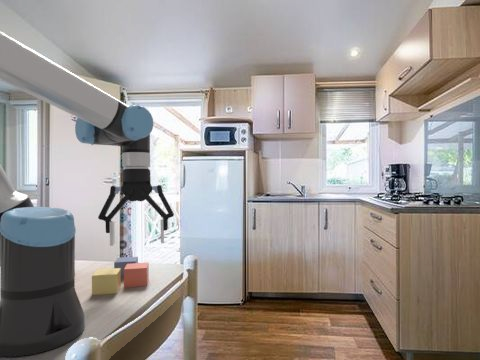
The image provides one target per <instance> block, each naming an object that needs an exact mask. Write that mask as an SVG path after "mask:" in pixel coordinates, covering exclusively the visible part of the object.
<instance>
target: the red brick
mask: <svg viewBox="0 0 480 360" xmlns="http://www.w3.org/2000/svg"><path fill="white" fill-rule="evenodd" d="M149 270H150V269H149V262H138V263H132V264H127V265H126V267H125V268H124V278H123V288H131V287H132V288H134V287H146V286H148V283H149V277H150V276H149V275H150V274H149Z"/></svg>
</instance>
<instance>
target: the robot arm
mask: <svg viewBox="0 0 480 360" xmlns="http://www.w3.org/2000/svg"><path fill="white" fill-rule="evenodd" d="M0 81H1V82H4V83H6V84H8V85H10V86H12V87H14V88H16V89H18V90H20V91H22V92H24V93H26V94H29V95H30V96H33V97H35V98H37V99H39V100H41V101H43V102H45V103H47V104H49V105H50V106H53V107H55V108H57V109H59V110H62V111H64V112H65V113H68V114H69V115H72V116H74V117H76V121H75V126H74V132H75V136H76V138H77V140H78V141H79V142H80V143H81V144H86V145H87V144H88V145H91V146H94V145H97V146H116V147H121V150H122V151H121V157H122V159H121V162H122V163H121V164H122V165H121V166H122V168H124V169H123V170H122V185H121V186H116V185H111V186H110V189H109V195H108V197H107V198H106V201H105V203H104V205H103V206H102V208H101V211H100V213H99V215H98V217H97V218H98V219H99V220H101V221H104V223H105V233H106V234H109V246H114V245H115V244H116V243H115V237H116V235H115V220H112V219H113V218H114V217H115V216H116V215H117V214H118V213H119V211H120V210H121V209H122V208H123V207H124V205H125V204H126V203H127V202H128V201H130V202H131V203H133V202H143V201H146V202H147V203H148V204H149V205H151V207H152V208H153V209H154V210H155V211H156V212H157V213H158V215H160V217H162V218H160V243H161V244H164V243H165V231H168V228H169V227H168V226H169V224H168V222H169V221H168V220H169V219H171V218H172V217H174V215H175V213H174V210H173V209H172V207H171V205H170V204H169V202H168V200H167V198H166V196H165V194H164V193H163V192H164V191H163V186H162V185H161V184H158V185H153V186H152V183H151V181H152V180H151V170H150V167H151V133H152V131H153V128H154V118H153V116H152V114H151V112H150V110H148V108H146V107H144V106H142V105H138V104H137V105H134V104H131V105H127V104H125V102H122V101H120V100H119V99H117V98H116V97H114V96H112V95H110V94H108V93H107V92H105V91H103V90H102V89H100V88H98V87H96V86H94V85H93V84H92V83H90V82H88V81H86V80H85V79H83V78H81V77H80V76H78V75H76V74H74V73H72V72H71V71H69V70H67V69H66V68H64V67H62V66H61V65H59V64H57V63H56V62H53V61H52V60H50V59H49V58H47V57H45V56H43V54H41V53H39V52H37V51H35V50H34V49H32V48H30V47H28V46H26V45H25V44H24V43H21V42H20V41H18V40H16V39H15V38H13V37H11V36H9V35H8V34H6V33H5V32H3V31H1V30H0ZM2 166H3V165H2V164H1V163H0V357H4V358H7V357H9V358H12V357H23V356H22V355H25V356H29V355H30V354H31V355H35V354H39V353H44V352H47V351H50V350H53V349H56V348H58V347H61V346H63V345H65V344H68V343H70V342H71V341H73V340H75V339H76V338H78V337H79V336H80V335H81V334H82V333H83V331H84V330H85V326H86V325H85V323H86V322H85V319H86V316H85V313H84V310H83V307H82V303H81V301H80V299H79V296H78V293H77V291H76V289H75V287H76V286H75V280H76V279H75V277H76V268H75V267H76V265H75V264H76V263H75V259H76V257H75V256H76V254H75V253H76V251H75V250H76V244H75V243H76V225H75V217H74V215H73V214H72V213H71V212H70V211H69V210H67V209H64V208H60V207H50V206H49V207H48V206H34V204H33V202H32V200H31V198H30V197H29V195H28V194H26V193H23V192H19V191H17V190H16V189H15V187H14V186H13V183H12V182H11V181H10V179H9V176H8V175H7V173H6V171H5V170H4V168H3V167H2ZM152 191H154V192H155V194H158V197H159V199H160V201H161V202H162V204H163V207H164V208H165V210H166V212H167V213H166V212H165V211H164V210H163V208H161V207H160V206H159V204H158V203H157V202H156V201H155V200H154V199H153V197H152V196H150V194H151V193H152ZM119 192H121V193H122V195H124V196H123V197H122V198H121V200H120V201H119V202H118V203H117V205H116V206H115V207H114V208H113V209H112V210H111V211H110V213H109V214H108V211H109V209H110V207H111V205H112V203H113V201H114V199H115V197H116V195H118V194H119ZM107 214H108V215H107Z"/></svg>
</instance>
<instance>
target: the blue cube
mask: <svg viewBox="0 0 480 360" xmlns="http://www.w3.org/2000/svg"><path fill="white" fill-rule="evenodd" d="M132 263H139V257H138V256H127V257H126V256H125V257H124V256H122V257H117V258H116V260H115V261H114V262H113V268H121V278H122V279H124V268H125V267H126V265H127V264H132Z"/></svg>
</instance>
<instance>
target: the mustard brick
mask: <svg viewBox="0 0 480 360" xmlns="http://www.w3.org/2000/svg"><path fill="white" fill-rule="evenodd" d="M121 287H122V279H121V268H114V267H113V268H98V269H96V271H94V273H93V274H92V275H91V295H92V296H97V295H108V294H110V295H111V294H113V295H114V294H118V292H119V290H120V289H121Z"/></svg>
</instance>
